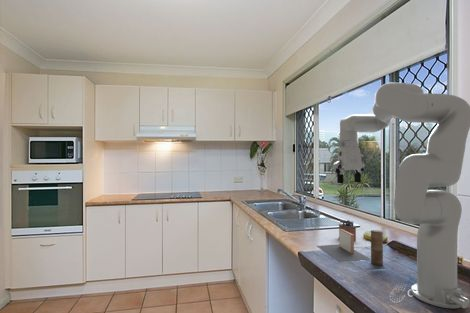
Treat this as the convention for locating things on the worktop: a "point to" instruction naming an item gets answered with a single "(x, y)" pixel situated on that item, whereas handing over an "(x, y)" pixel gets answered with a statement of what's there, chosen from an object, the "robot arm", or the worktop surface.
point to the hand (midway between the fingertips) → (349, 182)
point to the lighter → (348, 227)
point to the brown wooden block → (377, 247)
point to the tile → (346, 241)
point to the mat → (342, 253)
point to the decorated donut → (368, 236)
